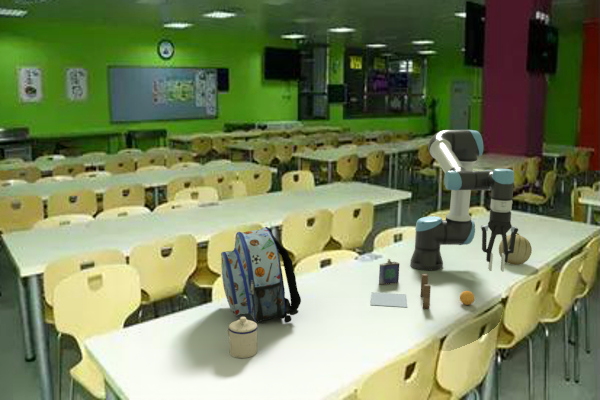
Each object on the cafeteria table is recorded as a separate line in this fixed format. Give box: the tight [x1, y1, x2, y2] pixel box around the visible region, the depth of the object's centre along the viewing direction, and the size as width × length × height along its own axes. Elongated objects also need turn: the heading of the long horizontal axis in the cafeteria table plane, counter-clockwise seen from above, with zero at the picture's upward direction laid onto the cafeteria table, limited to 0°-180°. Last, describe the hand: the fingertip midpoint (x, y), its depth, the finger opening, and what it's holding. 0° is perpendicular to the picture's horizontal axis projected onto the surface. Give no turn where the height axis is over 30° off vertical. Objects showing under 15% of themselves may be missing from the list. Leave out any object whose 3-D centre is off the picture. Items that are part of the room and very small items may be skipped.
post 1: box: [420, 273, 429, 298], centre depth 227 cm, size 3×3×9 cm
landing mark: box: [370, 291, 408, 308], centre depth 224 cm, size 14×14×1 cm
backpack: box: [220, 226, 302, 324], centre depth 208 cm, size 33×25×31 cm
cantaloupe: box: [498, 232, 532, 266], centre depth 270 cm, size 15×15×15 cm
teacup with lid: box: [227, 316, 258, 359], centre depth 178 cm, size 12×9×12 cm
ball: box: [459, 290, 476, 306], centre depth 219 cm, size 6×6×6 cm
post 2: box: [422, 284, 431, 310], centre depth 215 cm, size 3×3×9 cm
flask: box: [378, 258, 400, 286], centre depth 242 cm, size 9×3×11 cm, turn 109°
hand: (496, 270), depth 215 cm, fingers open, 4 cm apart
